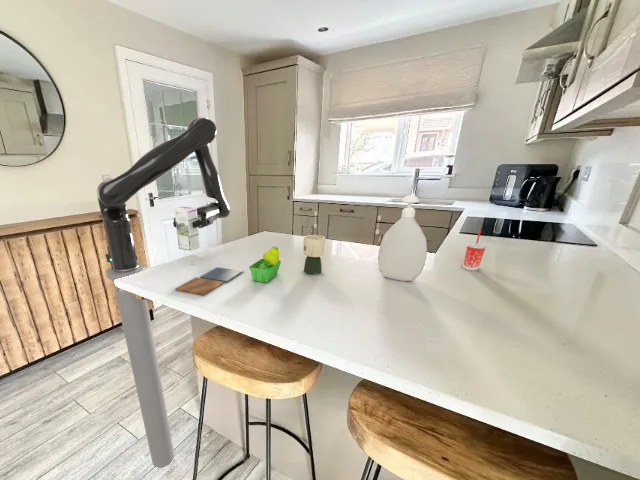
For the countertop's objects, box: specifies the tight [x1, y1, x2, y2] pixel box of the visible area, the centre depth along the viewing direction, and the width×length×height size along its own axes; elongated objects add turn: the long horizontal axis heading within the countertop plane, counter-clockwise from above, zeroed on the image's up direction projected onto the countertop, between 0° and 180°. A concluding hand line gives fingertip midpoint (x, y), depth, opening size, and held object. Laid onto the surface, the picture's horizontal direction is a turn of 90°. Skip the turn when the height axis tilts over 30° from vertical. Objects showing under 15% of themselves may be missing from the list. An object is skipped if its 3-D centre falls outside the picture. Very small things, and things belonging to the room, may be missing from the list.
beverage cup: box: [462, 229, 488, 271], centre depth 108 cm, size 6×6×14 cm
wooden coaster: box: [175, 276, 224, 296], centre depth 100 cm, size 11×11×1 cm
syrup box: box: [173, 206, 201, 252], centre depth 109 cm, size 6×6×14 cm
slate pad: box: [199, 267, 243, 284], centre depth 110 cm, size 11×11×1 cm
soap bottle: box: [377, 194, 428, 282], centre depth 99 cm, size 14×8×27 cm, turn 53°
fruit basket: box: [248, 246, 282, 283], centre depth 105 cm, size 11×9×11 cm
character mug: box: [303, 234, 326, 275], centre depth 108 cm, size 11×7×13 cm, turn 159°
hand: (184, 224), depth 106 cm, fingers closed on syrup box, 6 cm apart
